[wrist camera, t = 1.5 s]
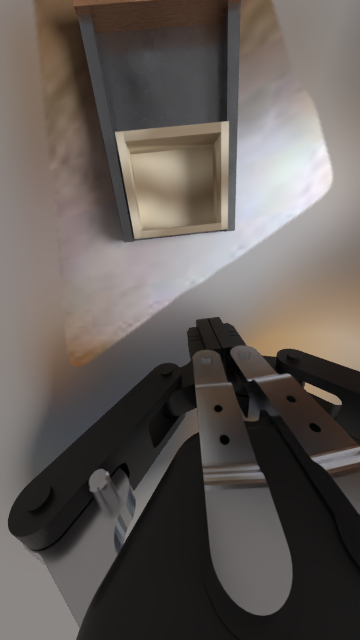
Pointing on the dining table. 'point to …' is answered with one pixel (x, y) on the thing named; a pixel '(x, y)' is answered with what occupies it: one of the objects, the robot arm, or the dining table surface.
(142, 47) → the bay
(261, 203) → the dining table surface
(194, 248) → the dining table surface
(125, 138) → the box
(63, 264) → the dining table surface
